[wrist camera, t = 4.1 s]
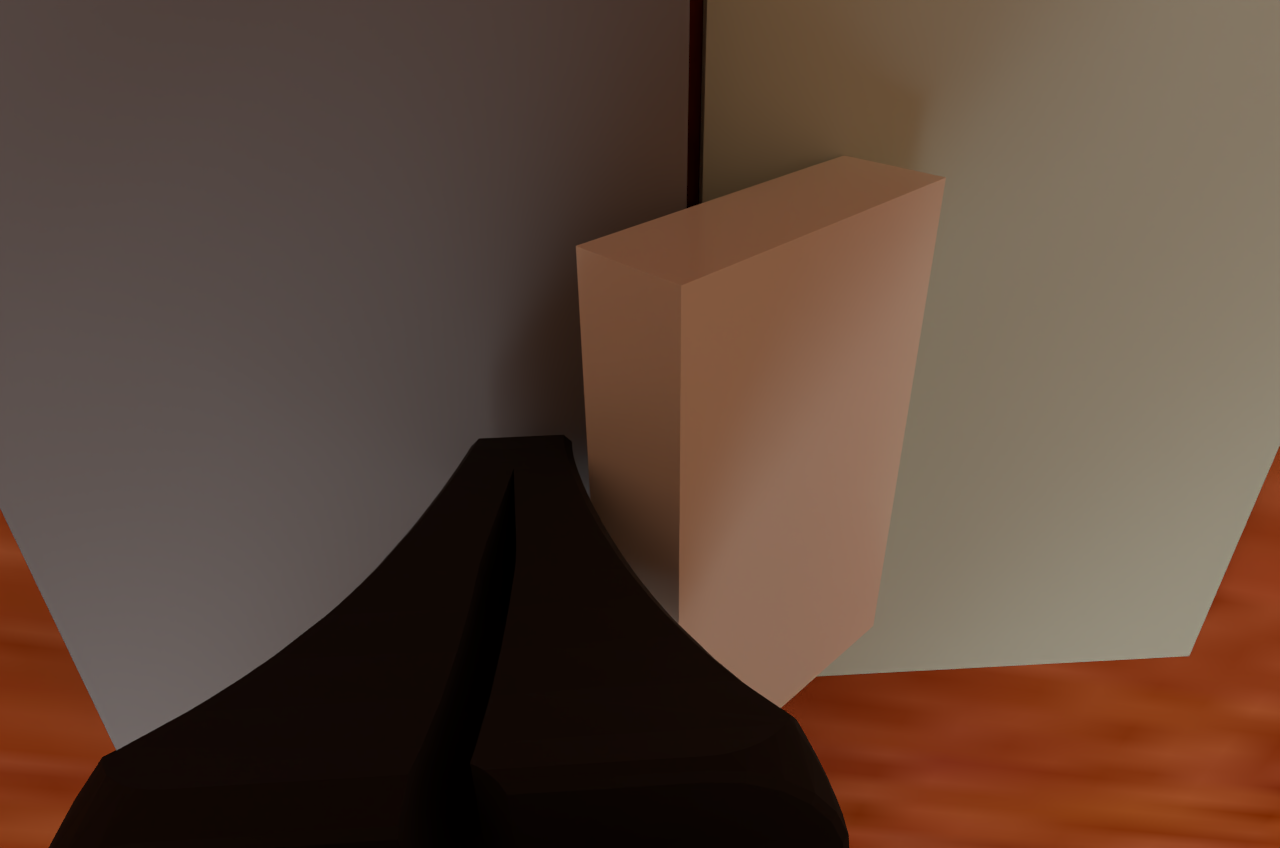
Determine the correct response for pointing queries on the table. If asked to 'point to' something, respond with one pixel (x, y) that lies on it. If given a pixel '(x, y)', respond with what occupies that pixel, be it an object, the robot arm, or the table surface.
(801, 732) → the robot arm
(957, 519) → the mat
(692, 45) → the table surface
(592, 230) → the board
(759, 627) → the coaster tile
